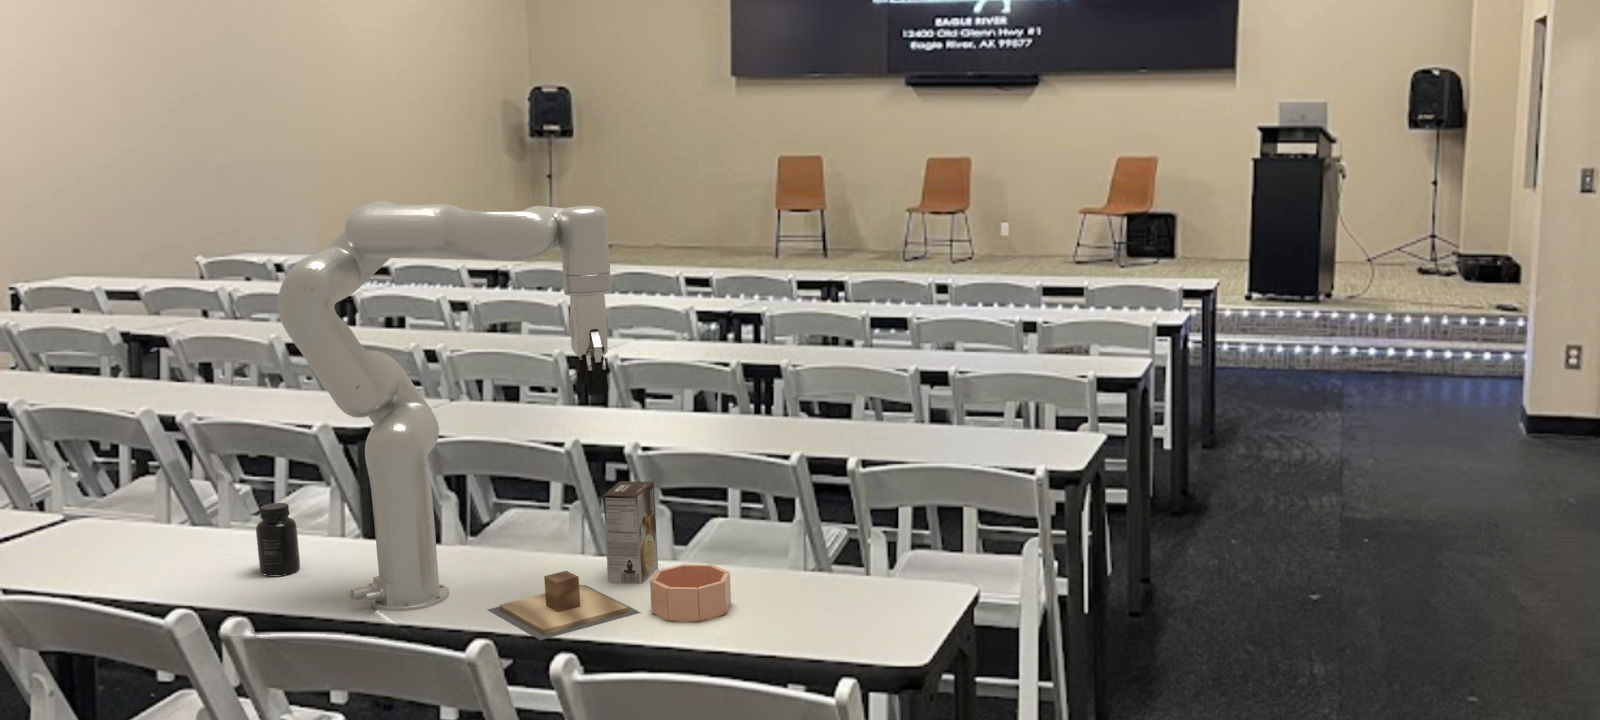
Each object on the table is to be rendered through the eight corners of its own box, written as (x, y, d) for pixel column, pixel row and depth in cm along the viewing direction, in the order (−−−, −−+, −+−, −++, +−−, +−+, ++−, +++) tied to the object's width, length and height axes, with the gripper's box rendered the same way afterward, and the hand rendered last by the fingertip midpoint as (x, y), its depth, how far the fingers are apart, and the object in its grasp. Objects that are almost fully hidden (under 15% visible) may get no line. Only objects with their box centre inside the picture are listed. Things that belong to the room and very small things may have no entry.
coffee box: (624, 568, 268) (619, 479, 265) (659, 570, 267) (655, 480, 264) (607, 586, 259) (602, 494, 256) (643, 587, 258) (638, 495, 255)
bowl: (680, 631, 237) (679, 594, 236) (639, 611, 246) (638, 575, 245) (743, 613, 244) (742, 577, 243) (701, 594, 254) (700, 559, 252)
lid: (544, 634, 235) (542, 598, 234) (499, 609, 247) (497, 575, 246) (628, 612, 244) (626, 577, 243) (581, 588, 256) (579, 555, 255)
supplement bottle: (308, 568, 273) (302, 503, 271) (277, 579, 267) (271, 513, 265) (283, 562, 277) (277, 498, 274) (251, 573, 271) (245, 508, 269)
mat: (540, 643, 233) (540, 639, 233) (487, 613, 248) (487, 609, 247) (641, 615, 244) (641, 612, 244) (584, 588, 258) (584, 584, 258)
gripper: (557, 279, 252) (564, 380, 256) (570, 292, 236) (577, 401, 239) (603, 275, 254) (609, 376, 257) (618, 289, 238) (625, 396, 241)
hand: (593, 388), depth 248 cm, fingers open, 9 cm apart
